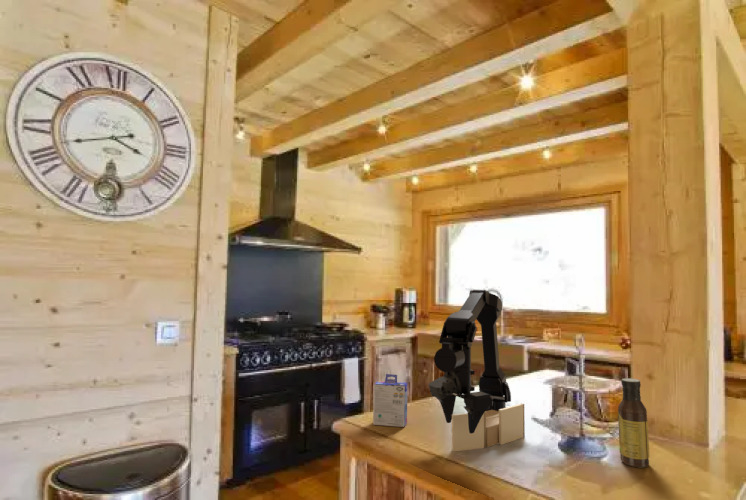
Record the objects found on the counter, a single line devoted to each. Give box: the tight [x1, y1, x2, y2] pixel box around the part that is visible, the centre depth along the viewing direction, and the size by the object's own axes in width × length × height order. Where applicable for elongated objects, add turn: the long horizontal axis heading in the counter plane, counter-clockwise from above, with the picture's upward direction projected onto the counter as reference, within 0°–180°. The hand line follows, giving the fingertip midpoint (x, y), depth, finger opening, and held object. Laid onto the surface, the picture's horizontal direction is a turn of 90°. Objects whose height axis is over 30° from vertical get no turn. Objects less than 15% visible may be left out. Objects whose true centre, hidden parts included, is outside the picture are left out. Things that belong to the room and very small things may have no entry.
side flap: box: [498, 403, 526, 445], centre depth 125 cm, size 11×1×9 cm, turn 128°
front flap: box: [451, 412, 487, 452], centre depth 118 cm, size 1×10×9 cm, turn 108°
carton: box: [485, 410, 499, 448], centre depth 128 cm, size 15×10×5 cm, turn 128°
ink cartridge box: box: [372, 373, 408, 428], centre depth 139 cm, size 10×6×14 cm, turn 78°
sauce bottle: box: [617, 377, 650, 469], centre depth 110 cm, size 6×6×20 cm
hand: (459, 427), depth 116 cm, fingers open, 9 cm apart
